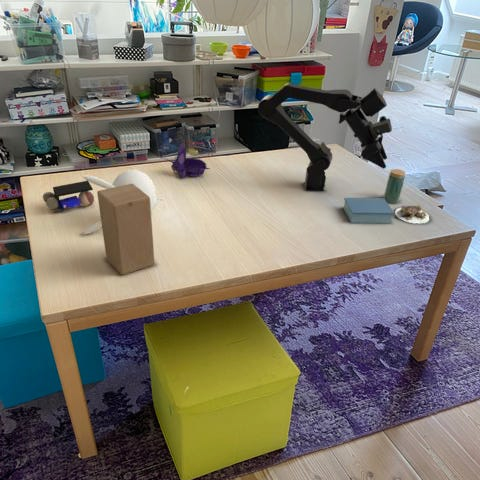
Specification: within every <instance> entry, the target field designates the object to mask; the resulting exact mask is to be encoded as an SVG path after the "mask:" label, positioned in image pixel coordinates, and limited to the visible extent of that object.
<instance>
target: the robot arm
mask: <svg viewBox="0 0 480 480" xmlns="http://www.w3.org/2000/svg"><path fill="white" fill-rule="evenodd" d="M288 99H293V100H299V101H303V102H308V103H314V104H319V105H323V106H325V107H327V108H328V109H330V110H332V111H336V112H338V113H339V120H338V124H339V125H341V124H342V123H343V122H345V123H346V124H347V126H348V127H349V129H350V130H351V132H353V137H354V138H355V139H357V140H358V141H359V143H360V147H361V153H360V156H361V158H362V159H363V160H365V161H368V162H370V163H372V164H374V165H376V166H378V167H379V168H381V169H386V168H387V165H386V163H385V160H387V159H388V156H387V153H386V151H385V148H384V145H383V139H384V134H388V133H391V132H393V131H392V130H393V127H392V122H391V119H390V117H388V118H387V117H386V116H385V115H383V116H380V117H379V121H376V122H375V123H373V122H372V121H370V120H368V119H367V117H371V118H372V117H374V116H376V114H378V113H379V112H381V111H382V110H384V109H385V108H386V107H387V106H388V104H387V101H386V99H385V98H384V96H383V95H382V94H381V93H380V92H379V90H377V88H376V87H374V88H372V89H371V90H370V91H369V92H368V93H367V94H365V95H364V96H363V97H362V96H359V95H355V94H353V93H352V92H351V91H350V90H348V89H330V90H326V89H320V88H315V87H309V86H305V85H300V84H294V83H292V82H287V83H285V84H284V85H283V86H282V87H281V88H279V89H278V90H277V91H275V92H274V93H273V94H267V95H265V96H264V97H262V99H261V100H260V101H259V102H258V105H257V111H258V114H259V115H260V116H262V117H263V118H264V119H265V120H267V121H269V122H272V123H274V124H276V125H277V126H278V127H279V128H280V129H281V130H282V131H283V132H284V133H285V134H286V135H288V137H289V138H290V139H292V141H293V142H295V144H296V145H298V146H299V148H300V149H302V150H303V151H304V153H306V155H307V157H308V159H309V163H308V165H307V167H306V171H305V179H304V182H303V187H304V188H305V190H306V191H309V192H310V191H313V192H324V191H325V186H326V179H327V176H326V170H328V169H329V168H330V166H331V163H332V161H333V153H332V152H331V151H332V149H331V148H330V147H328V146H327V145H326V144H325V142H324V141H322V142H321V143H317V142H315V141H314V140H313V139H312V138H311V137H310V136H309V135H308V134H307V133H306V132H305V131H304V130H303V129H302V128H301V127H300V126H299V125H298V124H297V123H296V122H295V121H294V120H293V119H292V118H291V117H290V116H289V115H288V114H287V113H286V110H285V109H284V106H283V105H282V104H283V103H284V102H285V101H287V100H288Z"/></svg>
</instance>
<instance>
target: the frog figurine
mask: <svg viewBox="0 0 480 480" xmlns="http://www.w3.org/2000/svg"><path fill="white" fill-rule="evenodd" d="M394 215H395V217H396V218H397V219H398V220H401V221H403V222H406V223H409V224H419V225H421V224H422V225H423V224H425V225H426V224H427V223H429V221H430V215H429V213H428V212H426V211H423V209H422V207H421V205H419V204H417V205H407V206H405V205H403V206H400V207H397V208H396V209H395V211H394Z"/></svg>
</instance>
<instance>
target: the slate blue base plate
mask: <svg viewBox="0 0 480 480" xmlns="http://www.w3.org/2000/svg"><path fill="white" fill-rule="evenodd" d="M343 200H344V205H343V210H344V212H345V214H346V216H347V218H348V220H349V222H350V223H351V224H391V223H392V219H393V215H395V211H394V210H393V209H392V208H391V206H390V205H389V204H390V203H388V202H386V200H385V199H384V197H381V198H380V197H344V199H343Z"/></svg>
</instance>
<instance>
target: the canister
mask: <svg viewBox="0 0 480 480" xmlns="http://www.w3.org/2000/svg"><path fill="white" fill-rule="evenodd" d="M405 179H406V171H405V170H402V169H398V168H392V169H390V172H389V174H388V177H387V182H386V186H385V190H384V193H383V198H384V199H385V200H386V202H387V203H388V204H398V203H399V202H400V198H401V194H402V190H403V186H404V183H405Z"/></svg>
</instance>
